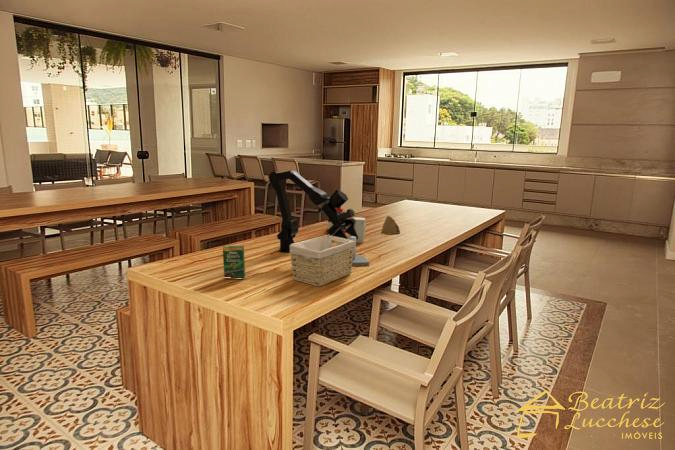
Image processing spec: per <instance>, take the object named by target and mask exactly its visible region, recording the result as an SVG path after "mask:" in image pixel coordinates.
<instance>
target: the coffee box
mask: <svg viewBox="0 0 675 450" xmlns="http://www.w3.org/2000/svg"><path fill="white" fill-rule="evenodd" d="M244 246H245V245H223V246H222V258H223V260H222V261H223V278H224V277H231V278H244V277H246V271H245V270H246V268H245V266H246V265H245V247H244ZM244 279H245V278H244Z"/></svg>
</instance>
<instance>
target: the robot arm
mask: <svg viewBox="0 0 675 450" xmlns="http://www.w3.org/2000/svg"><path fill="white" fill-rule="evenodd" d="M267 177H268V181H269V184H270V186H271V187H272V189H273V190H274V192H275V194H276V198H277V199H276V200H277V204H278V207H279V210H280V211H279V212H280V215H281V216H280V217H281V223H280V224H281V225H280V227H281V228H280V229H281V231H280V232H278V233H277V234H276V238H277V240H279V252H280V253H290V245H291V244H293V243H295V241H294V238H296V235H297V234H298V233H299V228H300V225H299V222H298V219H294V217H293V216H292V212H291V207H290V204H289V199H288V194H287V191H286V187H287V180H290V181H291V182H293V183H294V185H296V186H297V187H298V188H300V189H301V190H302V191H303V192H304V193H305V194H306V195H307V196H308V199H309V200H310V201H311V202H312V203H313V205H316V206H319V207H317V209H318V210H317V214H320V213H323V214H324V216H325V217H327V222H331V223H332V224H333V226H331V227H330V228H329V229H328V231H327V234H328V235H329V236H335V237H340V238H345V239H348V238H347V236H350V235H351V236H355V237H356V240H357V239H358V236H357V233H356V230H355V224H356V223H355V222H356V220H355V219H354V218H353V217H355V213H356V211H354V209H352V208H348V209H346V211H345V212H344V213H342V212H343V211H342V212H338V211H337V209H336V208H340V207H341V208H342V206H343V205H344V204H345V203H346V202H348V200H349V198H348V196H347V194H346V193H344V191H341V190H340V189H338V188H337V189H336V190H335V191H334V192H333V193H332V194H328V193H327V192H325V190H322V189H320V188H319V187H315V186H313V184H311V183H310V182H309V181H307V180H306V179H305V178H304V177H303V176H302V175H300V174H299V173H298V171H296V170H295V169H293V170H292V169H291V170H288V171H282V170H277V171H276V170H275V171H271V172H270V173H269V174H268V176H267ZM321 205H322V206H321ZM344 230H345V232H347V233H344ZM346 234H348V235H346Z"/></svg>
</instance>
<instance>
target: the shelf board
mask: <svg viewBox="0 0 675 450" xmlns="http://www.w3.org/2000/svg"><path fill="white" fill-rule="evenodd" d="M356 266H357V267H358V266H361V267H363V266H370V262H369V260H368V259H367V258H366V256H364V255H363V254H355V259H353V260H352V267H356Z"/></svg>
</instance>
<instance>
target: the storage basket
mask: <svg viewBox="0 0 675 450" xmlns="http://www.w3.org/2000/svg"><path fill="white" fill-rule="evenodd" d="M333 244H339V245H335V246H333ZM353 251H354V241H353V240H349V239H345V238H340V237H335V236H333V235H331V236H330V235H329V234H328V235H327V234H324V235H321V236H316V237H313V238H310V239H305V240H303V241H298V242H294V243H293V244H291V245H290V252H289V255H290V262H291V270H292V278H293V280H294V281H298V282H301V283H304V284H308V285H310V284H311V285H312V286H315V287H323V286H325V285H327V284H328V285H329V283H332V282H334V281H336V280H339V279H342V278H344V277H345V276H348V275H350V274H352V267H353V266H352V260H353Z"/></svg>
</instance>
